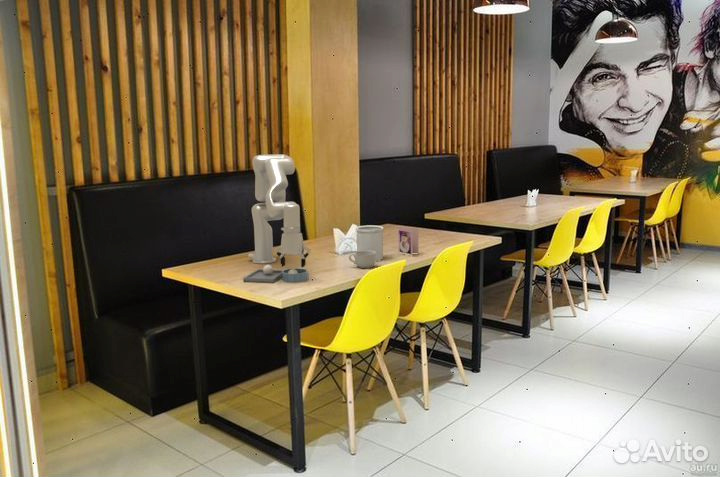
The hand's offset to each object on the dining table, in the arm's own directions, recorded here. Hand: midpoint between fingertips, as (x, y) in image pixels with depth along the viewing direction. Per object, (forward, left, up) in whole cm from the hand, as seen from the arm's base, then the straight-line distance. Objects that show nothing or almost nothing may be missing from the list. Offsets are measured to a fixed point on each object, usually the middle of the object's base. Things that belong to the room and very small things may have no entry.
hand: (293, 266), depth 300 cm
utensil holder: (+26, +53, -7) cm, 60 cm away
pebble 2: (0, 0, -4) cm, 4 cm away
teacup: (+26, +33, -7) cm, 43 cm away
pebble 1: (-15, +6, -4) cm, 17 cm away
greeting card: (+45, +69, -7) cm, 83 cm away
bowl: (0, +2, -7) cm, 7 cm away
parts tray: (-15, +2, -7) cm, 17 cm away
